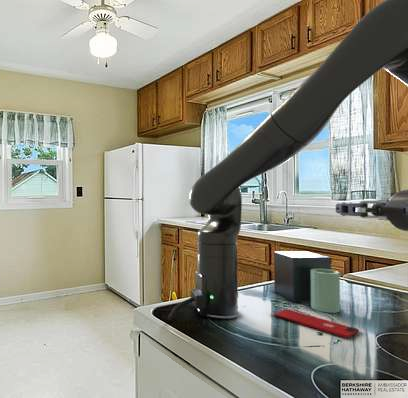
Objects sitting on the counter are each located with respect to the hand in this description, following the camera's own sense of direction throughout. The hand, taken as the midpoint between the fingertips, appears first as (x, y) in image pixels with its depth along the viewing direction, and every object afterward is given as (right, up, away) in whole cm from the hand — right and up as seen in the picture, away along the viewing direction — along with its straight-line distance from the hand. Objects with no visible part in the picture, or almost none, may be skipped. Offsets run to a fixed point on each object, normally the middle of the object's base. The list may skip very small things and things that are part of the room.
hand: (357, 208), depth 70 cm
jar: (0, -26, +11) cm, 28 cm away
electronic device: (-9, -26, +1) cm, 27 cm away
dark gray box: (0, -26, +21) cm, 33 cm away
